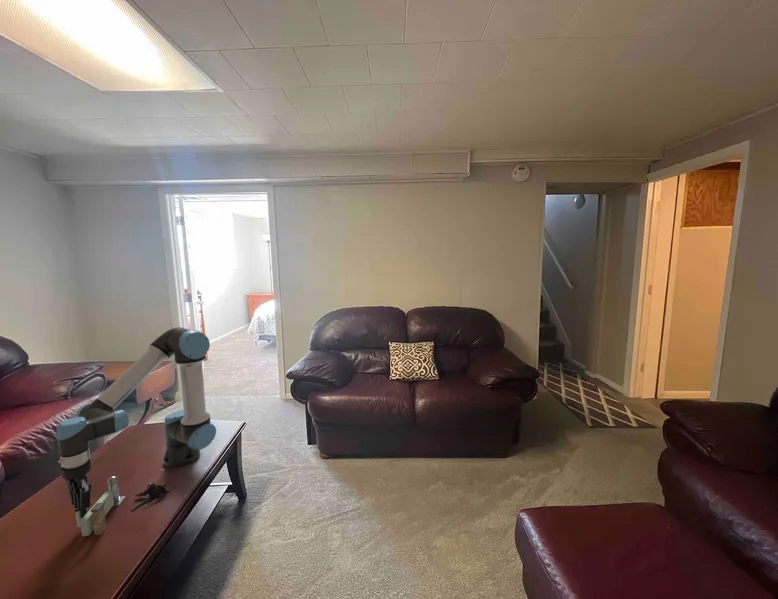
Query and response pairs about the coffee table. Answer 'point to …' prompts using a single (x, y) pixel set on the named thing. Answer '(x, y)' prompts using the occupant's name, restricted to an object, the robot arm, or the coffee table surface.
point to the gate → (88, 519)
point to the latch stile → (99, 518)
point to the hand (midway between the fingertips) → (83, 524)
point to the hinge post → (115, 490)
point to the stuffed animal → (152, 494)
